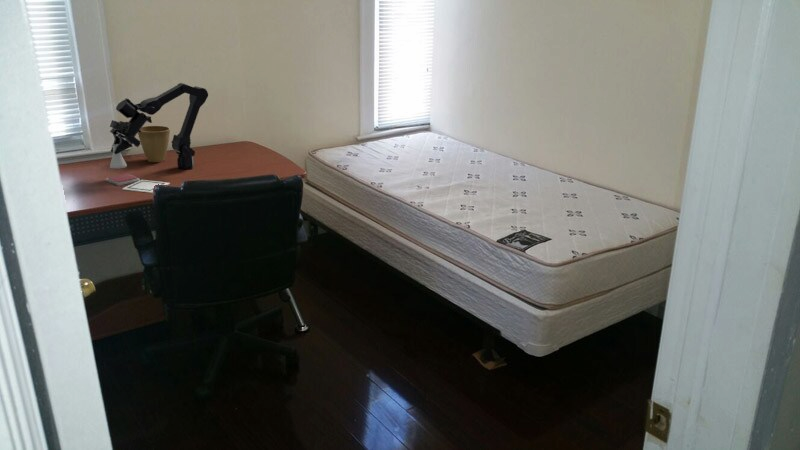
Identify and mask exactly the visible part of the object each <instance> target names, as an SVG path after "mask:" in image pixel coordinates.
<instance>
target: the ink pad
mask: <svg viewBox="0 0 800 450" xmlns="http://www.w3.org/2000/svg"><path fill="white" fill-rule="evenodd" d="M105 181H106V182H108V183H110V184H113V185H116V186H124V185H127V184H128V185H129V184H133V183H135V182H138V181H140V178H139V177H138V176H137V177H136V176H135V175H131V174H129V173H125V174H119V175H114V176H109V177H106V178H105Z"/></svg>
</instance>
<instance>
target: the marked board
mask: <svg viewBox="0 0 800 450" xmlns="http://www.w3.org/2000/svg"><path fill="white" fill-rule="evenodd" d="M158 184H159V185H167V186H169V185H170V184H171V183H170V182H165V181H158V180H157V181H156V180H147V179H141V180H140V181H138V182H133V183H130V184H128V185H127V186H124V187H121V188H122V191H132V192H140V193H148V194H149V193H150V194H152V193H154V192H153V189H154V186H155V185H158Z"/></svg>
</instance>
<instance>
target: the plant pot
mask: <svg viewBox="0 0 800 450" xmlns="http://www.w3.org/2000/svg"><path fill="white" fill-rule="evenodd" d="M140 131H141V132H140V133H139V132H138V133H137V135H138V140H139V141H140V146H141V148H142V150H143V153H144V155H145V157H146V160H147V161H148V162H149V163H162V162H164V161H165V158H166V156H167V152H168V147H169V141H170V134H171V133H170V132H171V127H169V126H164V125H148V126H147V125H146V126H143V127H142V128H141V129H140Z"/></svg>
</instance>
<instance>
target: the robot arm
mask: <svg viewBox="0 0 800 450" xmlns="http://www.w3.org/2000/svg"><path fill="white" fill-rule="evenodd" d="M184 94H188V95H189V97H188V98H189V104H188V108H187V111H186V113H185V117H184V119H183V122H182V126H181V128H180V131H179V133H178V134H173V137H172V141H171V147H172V150H174V151H175V153H176V154H178V156H177V160H176V161H177V162H176V163H177V167H178V170H193V168H194V167H195V163H194V156H195V155H196V151H195V150H194V149H192V148H191V143H192V142H191V141H192V140H191V134H192V132H193V129H194V126H195V123H196V120H197V117H198V115H199V111H200V108H201V107H202V106H204V104H205V103H206V101H207V100H208V97H209V92H208V90H207V89H206V88H204V87H200V86H196V85H195V86H190V85H188V84H186V83H183V82H180V83H177V85H175V86H174V87H172V88H170V89H168V90H166V91H165V92H163V93H160V94H159V95H157V96H153V97H150V98H146V99H144V100H141V101H140V102H139V103H137V104H136V103H135V104H134V103H133V102H132V101H131V100H130V99H129V98H124V100H123V99H122V100H121V101H120V102H118V104H117V106H116V107H115V110H116V111H117V112H119V113H120V114H122V116H123V117H125V118H126V119H129V118H130V119H129V121H122V120H120V121H117V120H114V119H113V120H112V119H111V122H110V125H109V128H111V130H110V131H109V133H111V134H112V136H113V138H114V141H113V143H112V145H113V144H119V145H118V146H117V148H116V150H115V152H114V153H115V154H118V153H122V152H124V151H126V150H127V149H128V150H129V148H132V147H136V148H139V147H140V146H141V142H140V139H139V138H137V137H136V136H137V135H138V132H139V133H140V132H141V131H140V129H141V128H142V127H144V125H145V124H146V123H150V124H152V123H153V121H152V115H153V116H154V115H155V114H156V113H158V112H159V111H160V110H161V109H162V107H163V106H164V105H167V104H168V103H170V102H171V101H173V100H175V99H176V98H178V97H181V95H184ZM133 145H134V146H133ZM110 152H111V153H112V154H113V147H112V146H111V149H110Z"/></svg>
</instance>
